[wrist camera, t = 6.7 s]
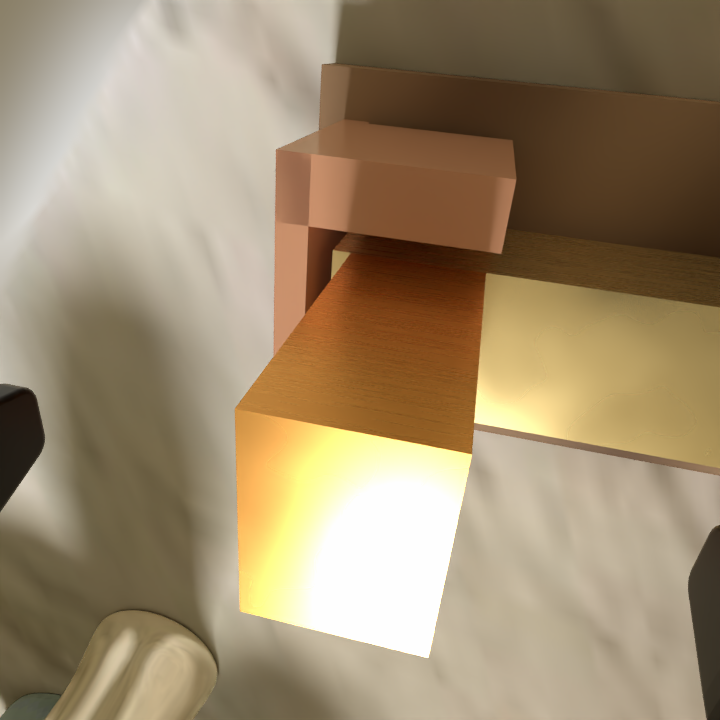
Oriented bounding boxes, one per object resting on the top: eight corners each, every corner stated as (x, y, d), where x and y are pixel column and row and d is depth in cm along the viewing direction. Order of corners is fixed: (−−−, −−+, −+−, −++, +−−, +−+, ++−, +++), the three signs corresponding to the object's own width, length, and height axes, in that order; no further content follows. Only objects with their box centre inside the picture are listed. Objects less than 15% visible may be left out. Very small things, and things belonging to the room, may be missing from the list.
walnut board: (1327, 162, 12) (1409, 174, 10) (1036, 509, 16) (1074, 542, 15) (334, 63, 14) (321, 64, 13) (317, 378, 19) (306, 398, 18)
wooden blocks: (968, 291, 12) (1751, 701, 4) (888, 421, 14) (1367, 888, 6) (366, 209, 14) (204, 402, 6) (356, 332, 15) (215, 605, 8)
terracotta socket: (512, 138, 13) (516, 179, 9) (462, 394, 17) (449, 510, 12) (344, 118, 14) (276, 149, 10) (328, 370, 17) (272, 472, 13)
